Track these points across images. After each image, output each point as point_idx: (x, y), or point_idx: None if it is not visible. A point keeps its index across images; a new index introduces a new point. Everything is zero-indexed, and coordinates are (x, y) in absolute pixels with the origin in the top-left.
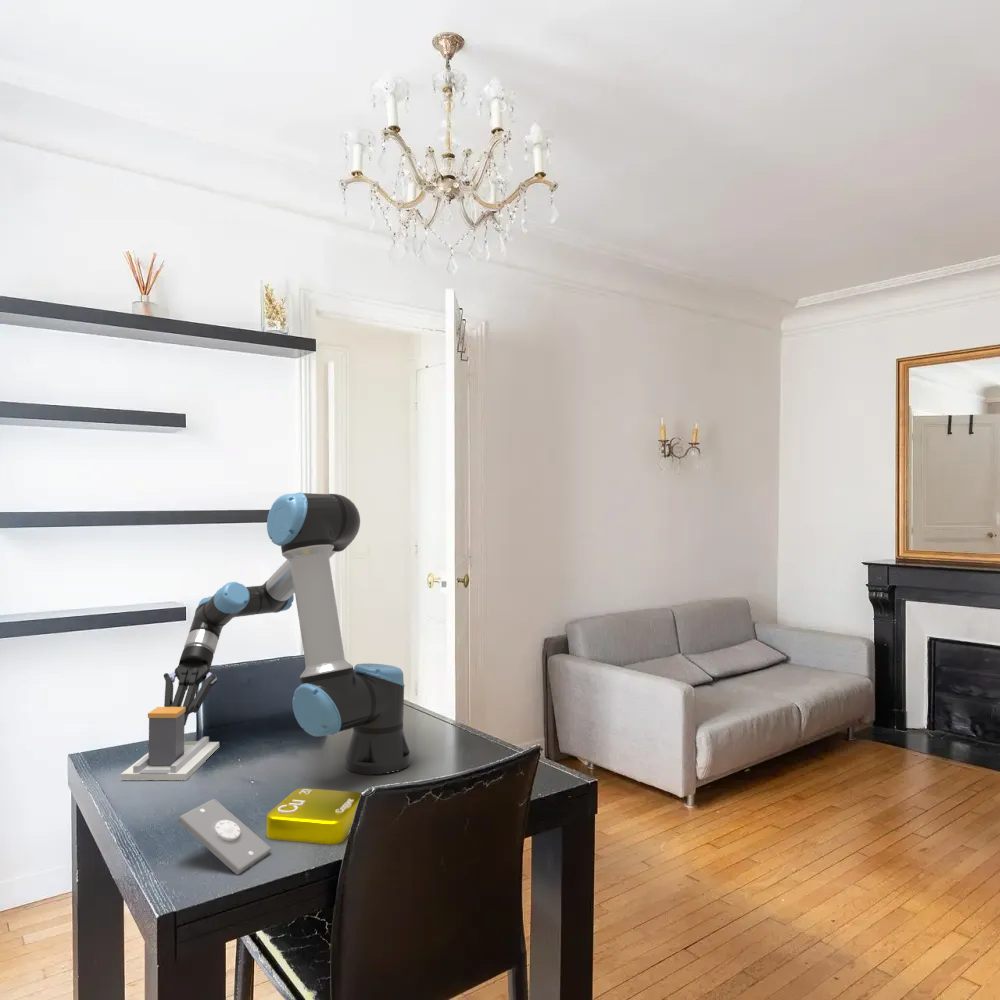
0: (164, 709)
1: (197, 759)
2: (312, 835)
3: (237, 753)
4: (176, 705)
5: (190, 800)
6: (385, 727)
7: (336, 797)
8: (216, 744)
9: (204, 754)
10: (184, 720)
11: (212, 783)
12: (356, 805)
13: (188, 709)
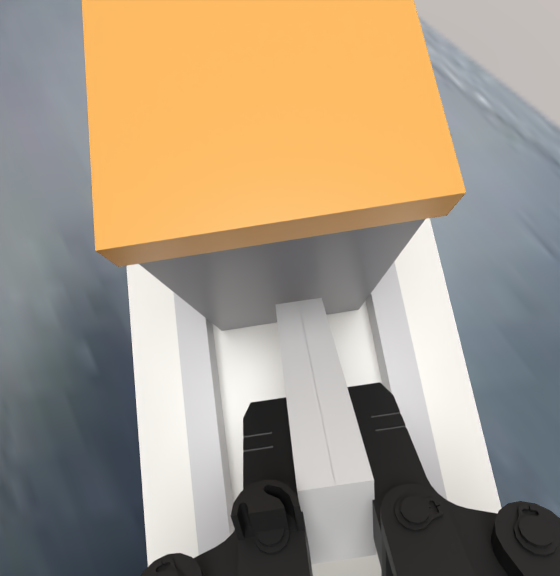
0: (305, 104)
1: (149, 335)
2: None
3: (28, 567)
4: (396, 550)
5: (32, 12)
6: None
7: None
8: None
9: (147, 418)
10: (244, 434)
11: (11, 159)
12: None
13: (233, 550)
